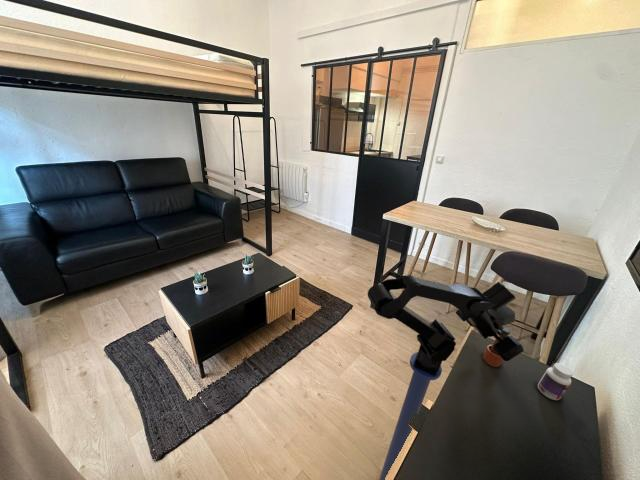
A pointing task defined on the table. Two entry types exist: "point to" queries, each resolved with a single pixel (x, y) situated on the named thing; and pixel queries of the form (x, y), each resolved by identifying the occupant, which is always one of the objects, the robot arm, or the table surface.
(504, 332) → the spice bottle
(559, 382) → the pill bottle
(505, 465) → the table surface
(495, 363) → the pot
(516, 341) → the robot arm
